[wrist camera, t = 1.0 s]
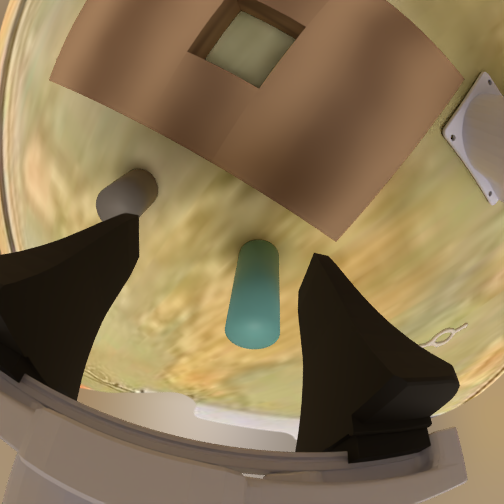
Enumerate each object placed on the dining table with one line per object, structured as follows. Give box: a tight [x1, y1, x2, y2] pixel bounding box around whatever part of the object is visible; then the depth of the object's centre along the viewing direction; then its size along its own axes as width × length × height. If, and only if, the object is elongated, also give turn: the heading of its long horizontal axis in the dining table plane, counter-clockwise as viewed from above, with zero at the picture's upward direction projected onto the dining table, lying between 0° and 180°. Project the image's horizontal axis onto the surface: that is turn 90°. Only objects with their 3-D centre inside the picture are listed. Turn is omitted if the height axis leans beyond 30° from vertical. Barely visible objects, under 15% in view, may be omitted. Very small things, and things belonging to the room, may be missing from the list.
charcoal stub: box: [96, 169, 158, 221], centre depth 18 cm, size 3×3×4 cm
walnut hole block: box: [49, 0, 464, 241], centre depth 12 cm, size 22×14×4 cm, turn 57°
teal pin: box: [225, 240, 280, 349], centre depth 19 cm, size 3×3×8 cm
